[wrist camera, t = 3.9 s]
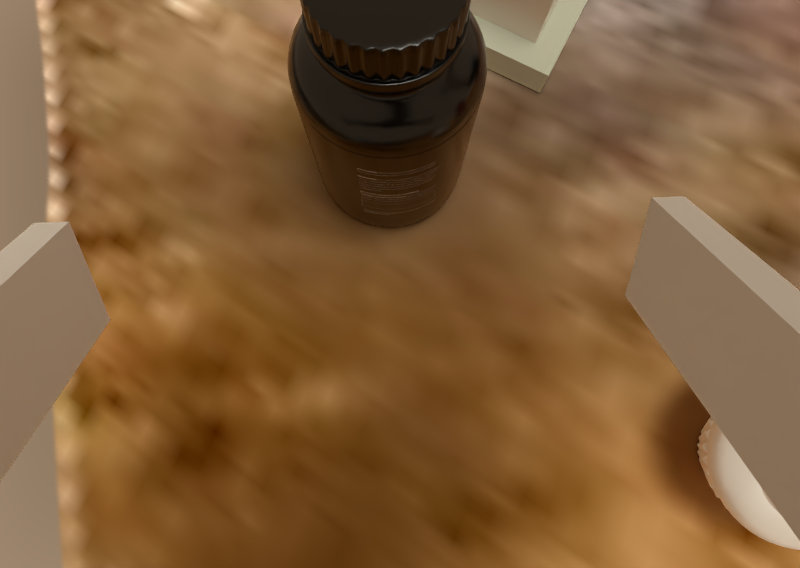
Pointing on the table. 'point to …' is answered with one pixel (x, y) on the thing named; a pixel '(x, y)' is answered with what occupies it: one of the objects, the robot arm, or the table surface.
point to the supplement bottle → (388, 100)
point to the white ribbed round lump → (741, 489)
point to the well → (525, 35)
